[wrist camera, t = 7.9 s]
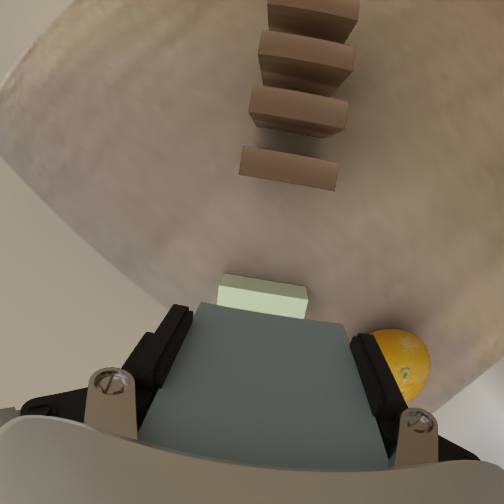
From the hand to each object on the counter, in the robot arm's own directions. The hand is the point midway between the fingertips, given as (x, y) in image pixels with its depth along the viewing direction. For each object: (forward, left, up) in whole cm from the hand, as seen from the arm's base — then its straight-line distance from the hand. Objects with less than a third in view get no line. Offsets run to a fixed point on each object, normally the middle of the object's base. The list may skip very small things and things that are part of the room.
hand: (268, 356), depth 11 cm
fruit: (+10, +14, -19) cm, 26 cm away
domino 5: (0, 0, -2) cm, 2 cm away
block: (+6, 0, -19) cm, 20 cm away
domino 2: (-15, 0, -19) cm, 24 cm away
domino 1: (-19, 0, -19) cm, 26 cm away
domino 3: (-11, 0, -19) cm, 21 cm away
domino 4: (-7, 0, -19) cm, 20 cm away
